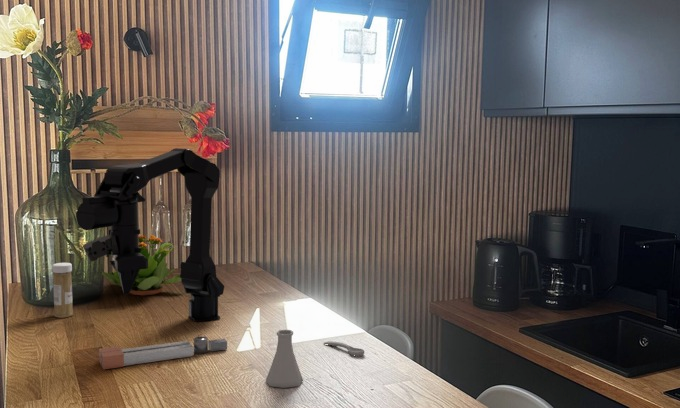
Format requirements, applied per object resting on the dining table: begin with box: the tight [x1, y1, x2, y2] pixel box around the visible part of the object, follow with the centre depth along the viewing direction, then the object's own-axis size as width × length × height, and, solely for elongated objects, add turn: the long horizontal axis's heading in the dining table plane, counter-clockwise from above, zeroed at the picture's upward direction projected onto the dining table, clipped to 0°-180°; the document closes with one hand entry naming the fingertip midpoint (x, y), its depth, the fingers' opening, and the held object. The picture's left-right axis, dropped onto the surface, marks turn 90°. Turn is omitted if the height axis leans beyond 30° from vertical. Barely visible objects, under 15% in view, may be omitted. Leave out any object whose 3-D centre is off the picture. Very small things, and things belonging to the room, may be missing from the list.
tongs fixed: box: [100, 338, 228, 370], centre depth 140 cm, size 26×4×3 cm, turn 117°
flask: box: [265, 329, 304, 389], centre depth 128 cm, size 7×7×10 cm
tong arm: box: [98, 336, 209, 364], centre depth 140 cm, size 22×4×3 cm, turn 117°
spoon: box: [323, 340, 365, 357], centre depth 148 cm, size 3×12×2 cm, turn 43°
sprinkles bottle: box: [51, 262, 74, 319], centre depth 168 cm, size 5×5×14 cm
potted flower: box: [100, 234, 182, 296], centre depth 193 cm, size 25×24×18 cm
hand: (126, 293), depth 147 cm, fingers closed
